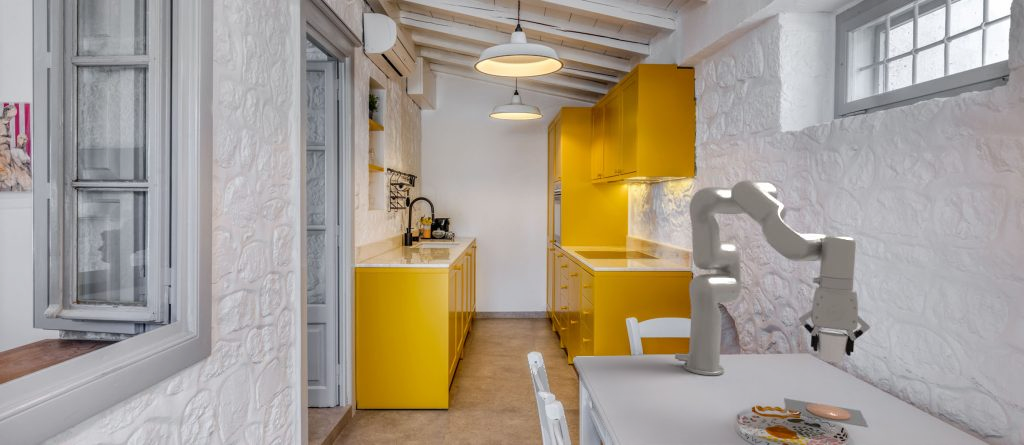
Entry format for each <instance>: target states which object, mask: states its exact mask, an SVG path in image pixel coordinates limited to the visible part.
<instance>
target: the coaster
mask: <svg viewBox="0 0 1024 445" xmlns="http://www.w3.org/2000/svg"><path fill="white" fill-rule="evenodd" d="M834 406H835V405H829V404H824V403H823V404H822V403H817V404H810V405H807V411H809V412H810V413H812V414H814V415H816V416H819V417H822V418H826V419H831V420H848V419H850V418H851V415H850V413H849V412H847V411H845V410H843V409H841V408H842V407H841V408H838V407H839V406H835V407H834Z"/></svg>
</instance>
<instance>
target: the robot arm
mask: <svg viewBox="0 0 1024 445" xmlns="http://www.w3.org/2000/svg"><path fill="white" fill-rule="evenodd" d="M778 195H779V194H778V190H777V189H776V187H775V186H774V185H773V184H772V183H770V182H767V181H761V180H742V181H739V182H737V183H736V184H734V185H733V186H732V187H720V186H718V187H717V186H716V187H715V186H711V187H705V188H701V189H698V191H696V192H695V193H694V194H693V196H692V197H691V199H690V202H689V207H688V208H689V209H688V210H689V217H690V223H691V237H692V238H691V240H692V242H691V243H692V259H693V264H694V266H695V267H697V268H698V269H700V270H706V271H708V270H709V271H713V270H715V273H703V274H699V275H696V276H695V277H692V279H691V280H690V282H689V285H688V286H689V287H688V289H689V292H688V293H689V297H690V330H689V332H690V333H689V352H688V353H685V354H683V353H677V352H676V353H675V354H674V359H675V360H677V361H679V362H684V363H683V368H684V369H685V370H687V372H691V373H694V374H698V375H702V376H703V375H704V376H720V375H723V374H724V372H725V368H724V366H722V365H720V357H721V356H720V355H721V343H722V342H721V340H722V320H723V319H722V312H721V310H720V308H719V305H718V304H720V303H721V304H722V303H729V302H734V301H736V300H737V299H738V298H739V296H740V294H741V290H742V271H741V256H740V251H739V250H738V248H737V246H736V245H735V244H733V243H732V242H730V241H728V240H721V237H720V236H721V235H720V227H719V223H718V221H717V219H716V218H715V216H714V215H715V214H716V215H717V214H718V215H740V214H746V215H747V216H749V218H751V219H752V220H753V221H754V222H755V223H757V224H758V225H759V226H760V227H761V231H762V234H763V236H764V239H765V241H766V242H767V243H768V245H769V246H770V247H772V248H773V250H775V251H776V252H777V253H779V254H780V255H781V256H783V257H784V258H786V259H787V260H790V261H792V262H818V261H819V262H820V268H819V276H817V277H813V278H812V279H813V280H812V283H813V284H817V285H818V286H817V287H815V291H814V294H813V298H812V304H811V309H810V310H809V311H807V312H806V313H804V314H802V315H801V316H799V317H798V321H799V322H800V323H801V325H802V326H803V327H804V328H805V330H807V332H808V333H809V334H810V335H811V336H810V348H813V352H818V331H819V330H821V329H822V328H823V329H829V330H830V329H831V330H839V331H840V330H841V331H846V334H847V335H848V340H847V345H846V351H845V354H846V355H847V357H848V356H849V357H851V354H852V353H854V347H855V341H856V340H857V339H858V338H859V337H861V336H862V335H864V334H865V333H866V332H868V331H869V330H870V328H871V326H870V324H868V323H867V322H865V320H864V319H862V318H861V317H860V316H859V308H858V306H859V303H858V302H859V301H858V293H857V291H856V290H854V277H855V276H854V275H855V264H856V263H855V262H856V261H855V260H856V249H857V248H856V247H857V242H856V240H855V239H854V238H853V237H850V236H844V235H829V234H825V233H819V232H818V233H817V232H812V233H811V232H797V231H795V229H793V228H791V227H790V226H789V225H788V224H786V222H785V221H783V220H784V218H785V216H786V214H787V208H786V206H785V205H784V203H782V202H781V201H779V200H778V197H779V196H778ZM808 319H810V320H811V323H812V324H813V325H812V326H811V325H810V324H809V323H808V322H807V320H808ZM858 324H859V325H860V327H859V328H858ZM857 328H858V329H857Z"/></svg>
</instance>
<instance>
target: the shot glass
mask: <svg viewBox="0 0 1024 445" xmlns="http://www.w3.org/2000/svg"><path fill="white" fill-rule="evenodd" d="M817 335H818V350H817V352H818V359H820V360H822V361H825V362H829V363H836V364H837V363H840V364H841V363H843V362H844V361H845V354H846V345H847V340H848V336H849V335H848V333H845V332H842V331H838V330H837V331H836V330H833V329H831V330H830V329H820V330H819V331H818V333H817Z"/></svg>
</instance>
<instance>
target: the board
mask: <svg viewBox="0 0 1024 445" xmlns="http://www.w3.org/2000/svg"><path fill="white" fill-rule="evenodd" d="M810 404H818V403H815V402H809V401H804V400H798V399H797V400H796V399H790V398H784V405H785V411H786V410H794V411H797V412H801V414H802V415H800V416H801V417H806V418H811V419H812V418H813V419H818V420H823V421H829V422H835V423H842V424H847V425H852V426H857V427H864V428H869V425H868V424H867V421H866V419H865V418H864V416H863V414H862V412H861V410H859V409H858V410H857V409H852V408H847V407H839V406H837V407H838V408H841V409H843V410H845V411H847V412H849V413H850V415H851V418H850V419H848V420H831V419H826V418H822V417H819V416H816V415H814V414H812V413H810V412H809V411H807V405H810ZM833 406H834V407H836V406H835V405H833ZM800 416H799V417H800Z"/></svg>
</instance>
